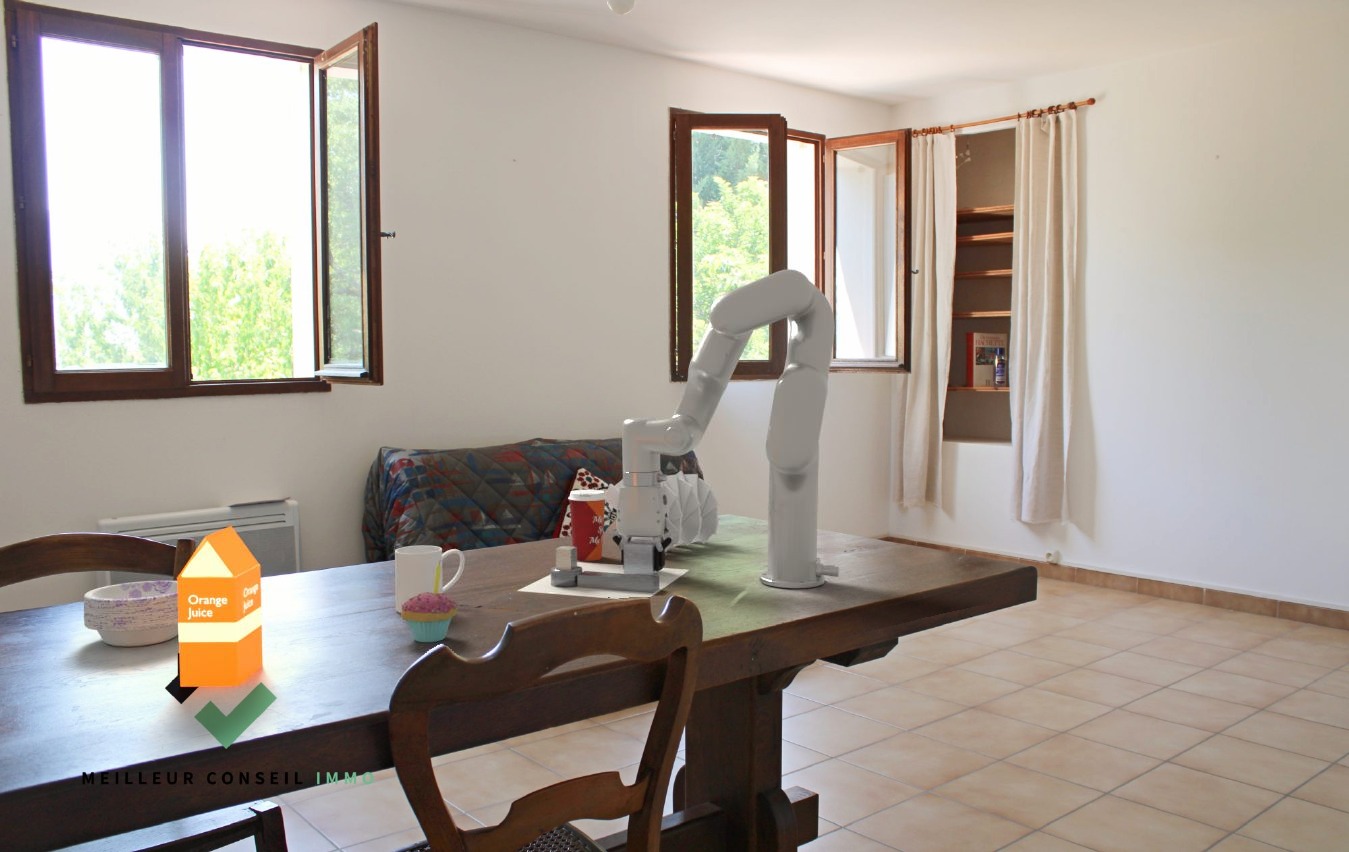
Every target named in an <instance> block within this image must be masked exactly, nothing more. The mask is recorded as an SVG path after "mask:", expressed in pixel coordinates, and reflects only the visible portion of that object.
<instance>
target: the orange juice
mask: <svg viewBox="0 0 1349 852" xmlns="http://www.w3.org/2000/svg"><path fill="white" fill-rule="evenodd" d="M261 577H262V576H261V564H260V563H259V562H258V561H257V559H256V558H255V556H254V555H253V554H252V553H251V551H250V550H249V548H248V547H247V545H245V543H244V541H243V540H242V539H241V538H240V536H239V535H238V534H237V532H236V531H235V528H233V525H230V526H227V527H226V528H223V529H221V530H218V531H216V532H213V533H211V534H209V535H206V536H204V538H203V539H202V541H201V542H200V544H199V545H198V547H197V548H196V550H195V551H194V552H193V554H192V556H191V557H190V559H189V560H188V562H187V563H186V565H184V567H183V569H182V570H181V572H180V573H179V574H178V575H177V577H176V581H177V584H178V619H179V623H178V644H179V645H178V646H179V647H178V652H179V654H178V655H179V681H180V682H179V683H180V687H182V688H183V687H184V688H185V687H186V688H187V687H190V688H191V687H193V688H194V687H204V688H205V687H239V686H240V685H241V684H243V683H244V682H245V681H247V680H248V678H250V677H251V676H253V674H255V673H256V672H258V671H259V670H260V669H261V668H262V667H263V664H264V663H263V631H262V630H263V627H262V626H263V617H262V615H263V613H262V612H263V608H262V607H263V606H262V585H261Z"/></svg>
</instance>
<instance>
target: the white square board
mask: <svg viewBox="0 0 1349 852" xmlns="http://www.w3.org/2000/svg"><path fill="white" fill-rule="evenodd" d="M577 566H579V567H582V572H584V571H594V572H608V573H622V574H624V569H623V565H622V564H610V563H609V564H608V563H594V562H584V561H582V562H580V561H577ZM688 572H690V569H684V568H683V569H682V568H668V567H663V569H661V570H660V571H658V572H657V573H655V574H654V575H650V576H659V589H658V590H657V591H656V592H654V593H645V592H632V591H619V590H606V589H593V588H580V587H571V588H560V587H554V586H551V574H549V575H547V576H545V577H542V578H540V579H538V580H536V581H534V582H532V583H530V584H528V585H526V586H524V587H522V588H519V589H518V590H517V592H524V593H536V594H537V593H538V594H549V595H550V594H551V595H558V596H559V595H561V596H571V597H572V596H574V597H575V596H576V597H588V598H600V599H611V600H620V599H619V598H629V597H650V598H651V597H654V596H655V595H656V594H658V593H659V592H660V591H661V590H663V589H664V588H666V587H668V586H669V585H670V584H672V583H673V582H674V581H676V580H678V579H679V578H681V577H682V576H683V575H685V574H686V573H688ZM636 575H642V574H636ZM608 597H610V598H608Z"/></svg>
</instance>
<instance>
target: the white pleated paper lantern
mask: <svg viewBox="0 0 1349 852" xmlns="http://www.w3.org/2000/svg"><path fill="white" fill-rule="evenodd" d="M621 486H623V478H622V479H621V480H620V481H619V482H617V483H616V484H615V485H614V484H612V483H609V485H608V488H607V490H606V492H605V496H606V499H605V503H608V504H609V506H611V507H613V509H615V510H616V511H617V504H618V496H619V491H620V487H621ZM661 486H665V490H666V494H667V501H668V509H669V519H670V521H671V522H672V523H673V524H674V526H675V527H676V528H677V529H678V530H679V531H680V535H679V536H678V537H676V538H675V539H674V540H673V542H672V543H671V544H670V545H669V546H668V547H667V548H666V549H665V553H667V552H668V551H669V550H670V549H671V548H672V547H673V548H674V547H678V546H681V545H683V544H685V545H686V546H687V547H688V546H690V545H691V544H692V543H698V542H701V543H702V545H705V543H706V542H707V541H708V540H709V539H710V538H711V537H712V535H716V534H717V530H718V526H719V521H720V517H719V513H718V512H719V510H718V509H719V508H718V507H719V506H720V505H719V502H718V501H717V499H716V497H715V494H714V492H713V490H712V487H713V486H712V485H711V484H709V483H707V482H706V481H704V480H703V479H702V478H699V473H691V474H690V473H687V474H686V473H685V474H684V472H683V470H679V472H677V473H676V474H670V475H667V481H663V482H662V483H661ZM669 535H670V531H669V532H668V533H666V534H663V537H664V539H666V538H667V537H668V536H669ZM632 539H653V537H632ZM632 539H631V540H632Z"/></svg>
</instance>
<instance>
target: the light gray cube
mask: <svg viewBox="0 0 1349 852" xmlns="http://www.w3.org/2000/svg"><path fill="white" fill-rule="evenodd" d="M656 551H657V548H656V545H655V543H654V540H653V539H632V540H630V541H628V542H626V543H624V574H642V575H654V574H655V573H657V572H658V571H655V552H656Z"/></svg>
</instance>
